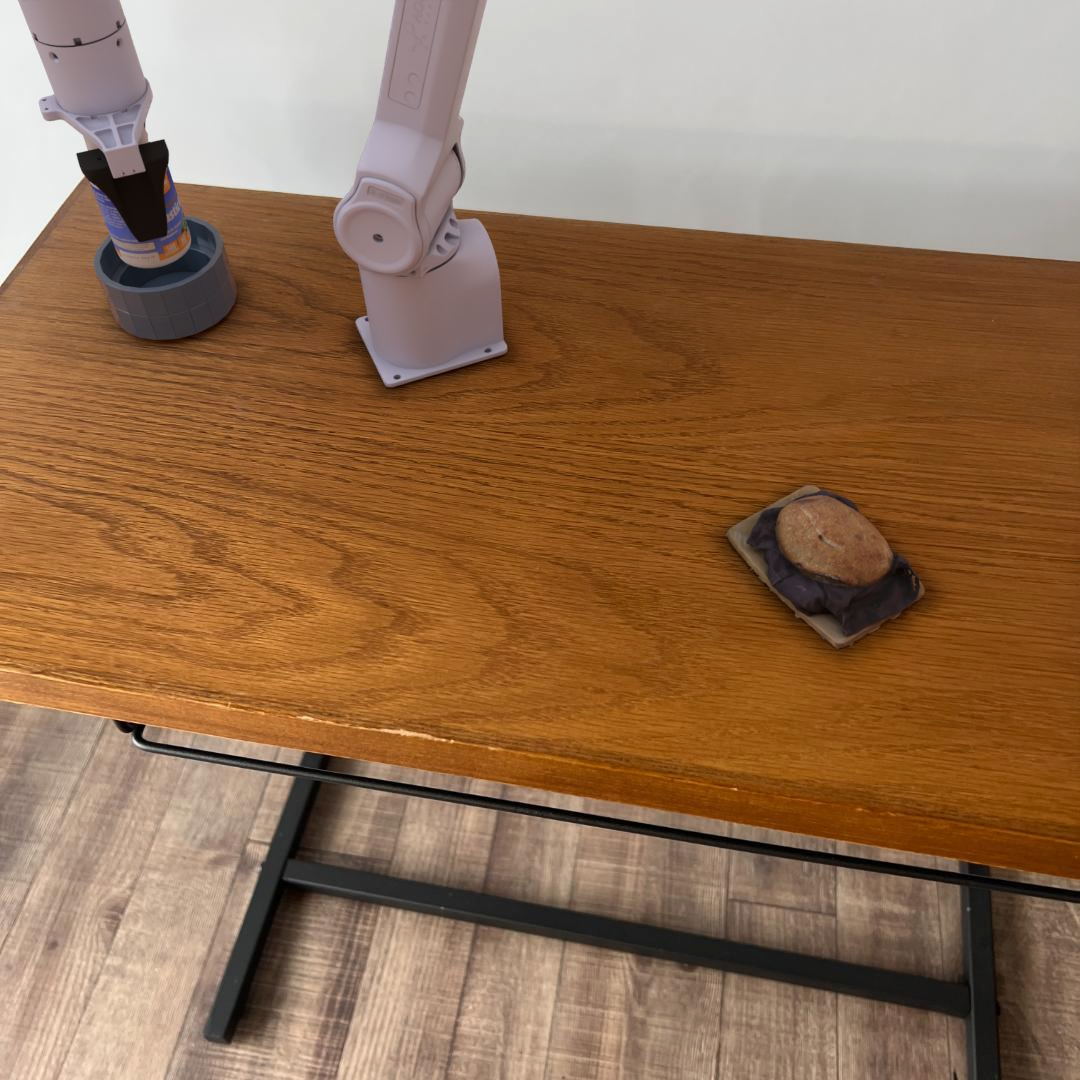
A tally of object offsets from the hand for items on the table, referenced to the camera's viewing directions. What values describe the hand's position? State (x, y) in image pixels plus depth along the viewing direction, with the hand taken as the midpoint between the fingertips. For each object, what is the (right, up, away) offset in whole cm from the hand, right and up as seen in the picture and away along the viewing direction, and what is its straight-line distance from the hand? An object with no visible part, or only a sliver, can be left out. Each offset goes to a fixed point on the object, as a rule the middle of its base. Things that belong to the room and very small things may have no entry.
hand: (144, 213), depth 78 cm
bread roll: (+46, -25, -10) cm, 53 cm away
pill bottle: (0, -2, +2) cm, 3 cm away
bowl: (0, -5, +6) cm, 8 cm away
